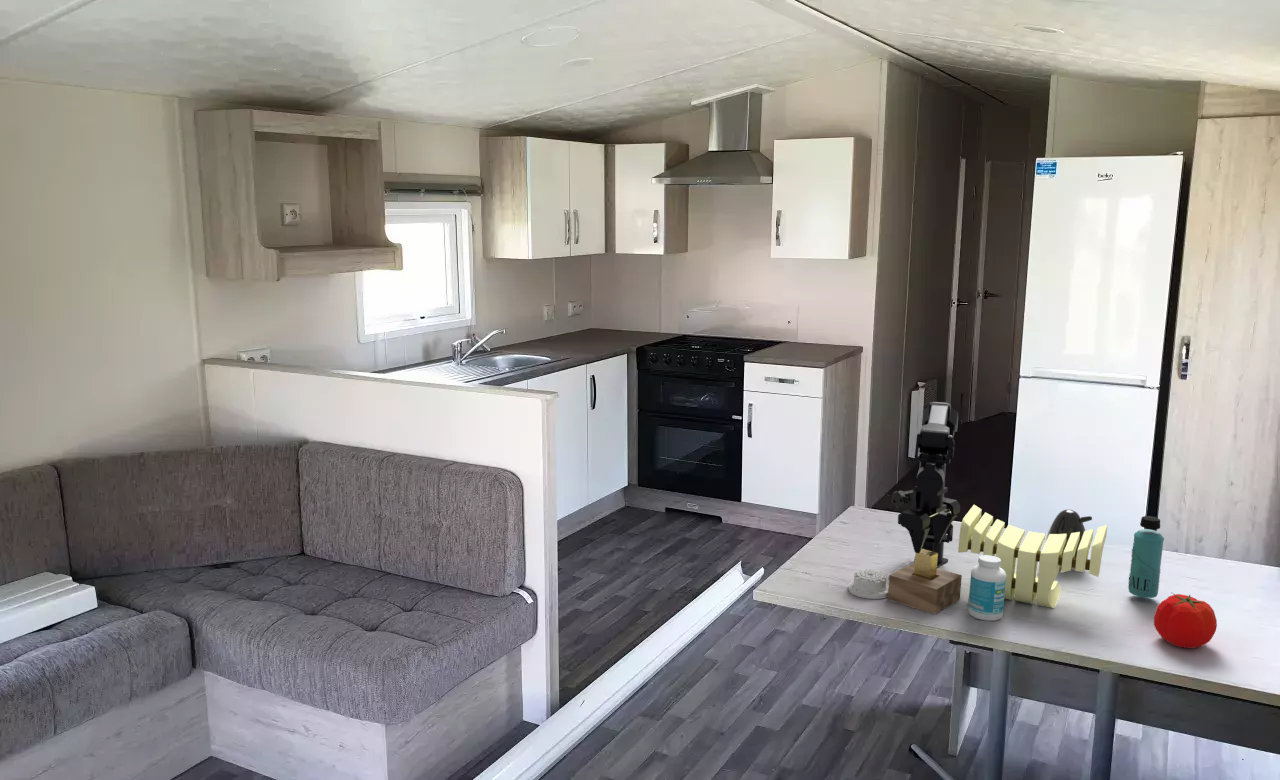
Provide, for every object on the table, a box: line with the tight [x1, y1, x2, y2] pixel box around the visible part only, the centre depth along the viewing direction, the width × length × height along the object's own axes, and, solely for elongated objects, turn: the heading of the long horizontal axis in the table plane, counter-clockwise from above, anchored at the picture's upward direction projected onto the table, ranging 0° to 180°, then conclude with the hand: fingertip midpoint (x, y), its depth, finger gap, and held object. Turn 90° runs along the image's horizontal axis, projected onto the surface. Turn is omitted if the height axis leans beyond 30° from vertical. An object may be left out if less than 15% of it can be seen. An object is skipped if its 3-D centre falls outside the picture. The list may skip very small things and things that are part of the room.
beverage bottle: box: [1128, 515, 1165, 599], centre depth 225 cm, size 6×7×20 cm
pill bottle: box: [967, 554, 1006, 622], centre depth 216 cm, size 8×7×14 cm
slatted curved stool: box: [957, 504, 1108, 609], centre depth 227 cm, size 30×16×18 cm, turn 60°
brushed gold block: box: [914, 549, 938, 580], centre depth 225 cm, size 3×4×10 cm
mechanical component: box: [847, 569, 889, 600], centre depth 230 cm, size 10×4×10 cm
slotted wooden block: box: [887, 561, 963, 615], centre depth 225 cm, size 12×12×6 cm
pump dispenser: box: [1044, 509, 1093, 571], centre depth 246 cm, size 10×10×15 cm
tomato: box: [1153, 592, 1218, 649], centre depth 203 cm, size 12×12×10 cm
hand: (927, 548), depth 224 cm, fingers open, 9 cm apart
